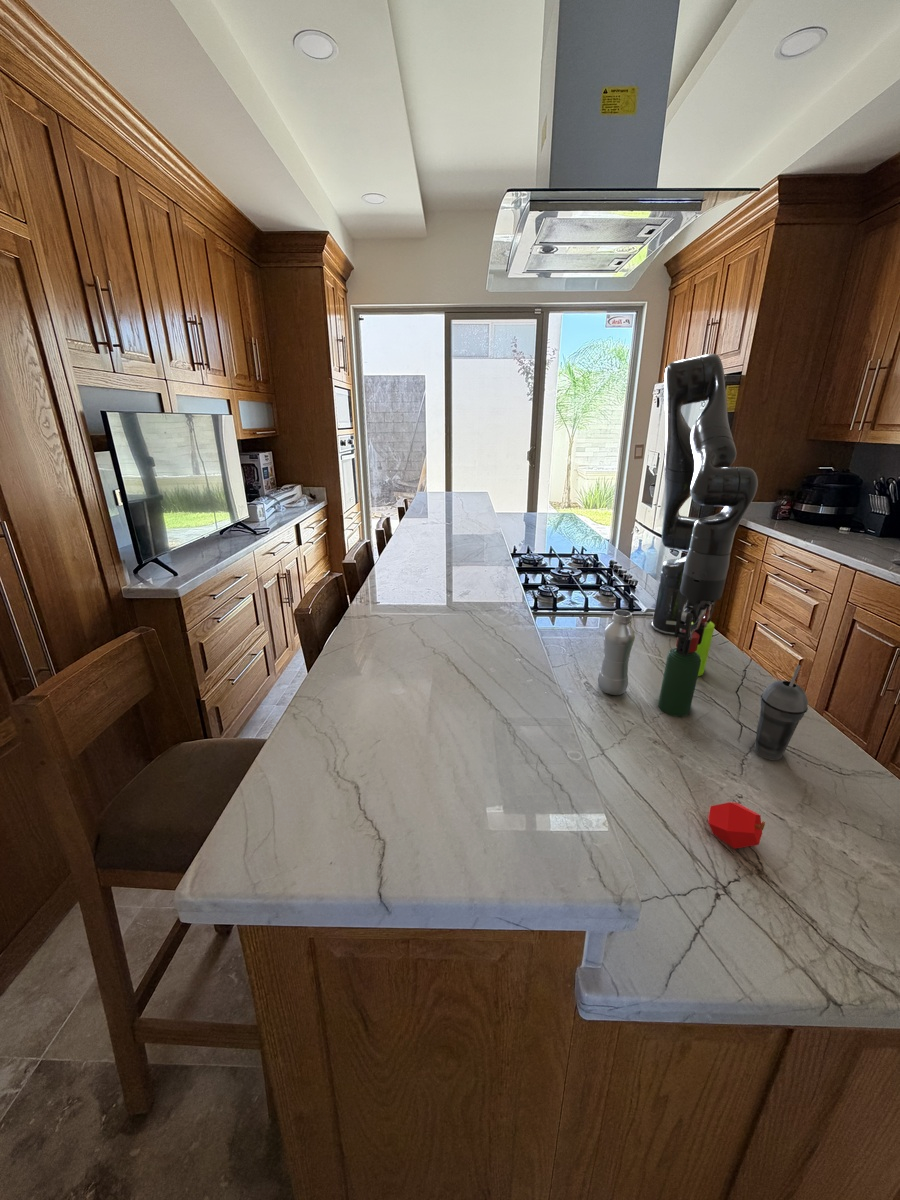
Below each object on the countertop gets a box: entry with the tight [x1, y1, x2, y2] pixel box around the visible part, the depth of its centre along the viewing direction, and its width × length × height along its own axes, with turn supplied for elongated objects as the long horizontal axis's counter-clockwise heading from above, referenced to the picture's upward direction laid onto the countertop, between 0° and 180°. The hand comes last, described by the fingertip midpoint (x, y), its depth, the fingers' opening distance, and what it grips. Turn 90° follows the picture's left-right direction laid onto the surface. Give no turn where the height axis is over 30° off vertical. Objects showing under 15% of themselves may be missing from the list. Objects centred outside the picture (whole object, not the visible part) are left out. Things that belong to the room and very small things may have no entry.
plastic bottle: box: [597, 609, 636, 696], centre depth 109 cm, size 6×7×20 cm
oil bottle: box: [657, 647, 701, 717], centre depth 103 cm, size 6×6×18 cm
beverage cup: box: [754, 664, 809, 761], centre depth 89 cm, size 7×7×20 cm
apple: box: [707, 801, 766, 850], centre depth 74 cm, size 7×7×8 cm
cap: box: [675, 630, 699, 653], centre depth 100 cm, size 4×4×3 cm
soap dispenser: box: [692, 620, 716, 677], centre depth 117 cm, size 6×7×20 cm
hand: (688, 648), depth 100 cm, fingers open, 6 cm apart
